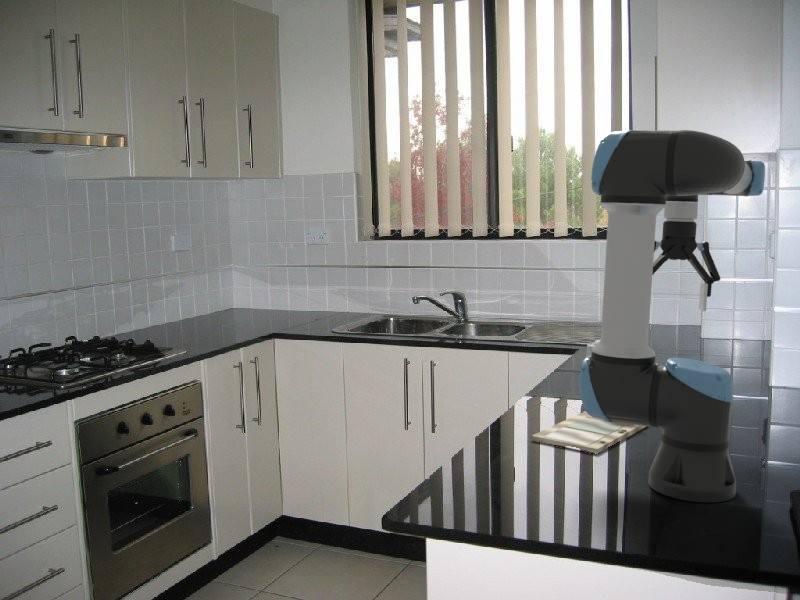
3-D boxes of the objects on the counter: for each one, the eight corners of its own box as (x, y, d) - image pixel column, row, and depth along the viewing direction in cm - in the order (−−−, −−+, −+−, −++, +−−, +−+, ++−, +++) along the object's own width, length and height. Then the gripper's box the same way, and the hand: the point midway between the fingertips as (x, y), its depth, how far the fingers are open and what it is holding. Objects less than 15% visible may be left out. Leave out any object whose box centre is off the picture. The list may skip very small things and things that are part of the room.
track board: (596, 454, 173) (597, 448, 173) (531, 440, 182) (531, 435, 182) (655, 421, 201) (655, 416, 201) (596, 410, 210) (596, 405, 210)
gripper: (726, 221, 202) (719, 308, 205) (622, 218, 202) (617, 306, 204) (739, 222, 195) (732, 313, 197) (631, 219, 194) (626, 310, 197)
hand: (673, 309), depth 201 cm, fingers open, 13 cm apart
